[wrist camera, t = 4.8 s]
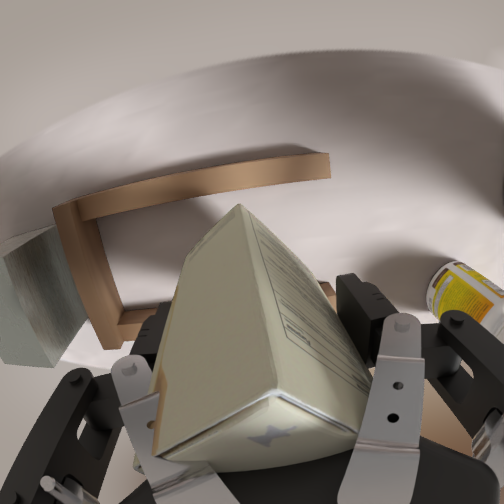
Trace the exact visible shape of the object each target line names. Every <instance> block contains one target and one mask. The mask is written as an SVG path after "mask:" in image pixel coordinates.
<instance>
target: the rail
mask: <svg viewBox="0 0 504 504" xmlns="http://www.w3.org/2000/svg"><path fill="white" fill-rule="evenodd" d="M327 178H331V171H330V161H329V153H320V152H318V153H308V154H298V155H289V156H280V157H272V158H264V159H257V160H250V161H243V162H236V163H230V164H224V165H218V166H212V167H206V168H201V169H195V170H190V171H185V172H180V173H175V174H170V175H165V176H160V177H156V178H151V179H147V180H143V181H138V182H134V183H130V184H126V185H122V186H118V187H114V188H110V189H106V190H103V191H99V192H95V193H92V194H88V195H85V196H81V197H78V198H74V199H72V200H69V201H67V202H65V203H62V204H60V205H58V206H55V207H53V208H52V210H53V214H54V218H55V222H56V226H57V229H58V233H59V236H60V240H61V243H62V246H63V249H64V253H65V256H66V259H67V262H68V265H69V268H70V271H71V273H72V276H73V279H74V282H75V284H76V287H77V290H78V292H79V295H80V297H81V300H82V302H83V305H84V307H85V310H86V312H87V314H88V317H89V319H90V321H91V324H92V326H93V328H94V330H95V332H96V335H97V337H98V339H99V341H100V343H101V345H102V347H103V349H104V350H112V349H121V346H122V344H123V342H124V341H135V340H136V337H137V335H138V333H139V331H140V328H141V326H142V324H143V322H144V321H145V320H146V319H147V318H148V317H149V316H150V315H155V313H156V311H157V309H158V308H151V309H142V310H133V311H125V310H124V307H123V305H122V302H121V299H120V297H119V294H118V291H117V288H116V285H115V282H114V279H113V276H112V273H111V270H110V267H109V264H108V261H107V257H106V254H105V251H104V247H103V244H102V241H101V237H100V233H99V230H98V226H97V222H96V218H98V217H102V216H107V215H111V214H115V213H120V212H124V211H129V210H133V209H138V208H143V207H147V206H152V205H157V204H162V203H167V202H172V201H178V200H183V199H188V198H194V197H199V196H205V195H211V194H217V193H223V192H229V191H235V190H242V189H248V188H255V187H262V186H269V185H277V184H284V183H292V182H300V181H309V180H317V179H327ZM319 285H320V287H321V288H322V290H323V292H324V293H325V295H326V297H327V298H328V300H329V302H330V303H331V305H332V307H333V308H334V310H335V312H336V313H337V310H336V293H335V291H334V290H333V288H332V287H331V285H330V284H329V282H328V283H322V284H319Z"/></svg>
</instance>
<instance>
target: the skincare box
mask: <svg viewBox="0 0 504 504" xmlns="http://www.w3.org/2000/svg"><path fill="white" fill-rule="evenodd" d="M372 381H373V377H372V375H371V373H370V371H369V369H368V368H367V366H366V365H365V363H364V361H363V360H362V358H361V356H360V354H359V352H358V351H357V349H356V347H355V345H354V343H353V342H352V340H351V338H350V336H349V334H348V333H347V331H346V329H345V327H344V326H343V324H342V322H341V320H340V319H339V317H338V315H337V314H336V312H335V310H334V308H333V307H332V305H331V303H330V302H329V300H328V298H327V297H326V295H325V293H324V292H323V290H322V288H321V287H320V285H319V283H318V282H317V280H316V278H315V277H314V275H313V273H312V272H311V271H310V270H309V269H308V268H307V267H306V266H305V265H304V264H303V263H302V261H301V260H300V259H299V258H298V257H297V256H296V255H295V254H294V253H293V252H292V251H291V250H290V249H289V248H288V247H287V246H286V245H285V244H284V243H283V242H282V241H281V240H279V239H278V238H277V237H276V236H275V235H274V234H273V233H272V232H271V231H270V230H269V229H268V228H267V227H266V226H265V225H264V224H263V223H262V222H260V221H259V220H258V219H257V218H256V217H255V216H254V215H253V214H252V213H250V212H249V211H248V210H247V209H246V208H245V207H244V206H243V205H241V204H237V205H236V206H235V207H234V208H232V209H231V210H230V211H229V212H228V213H227V214H226V215H225V216H224V217H223V218H222V219H221V220H220V221H219V222H218V223H217V224H216V225H215V226H214V227H213V228H212V229H211V230H210V231H209V232H208V233H207V234H206V235H205V236H204V237H203V238H202V239H201V240H200V241H199V242H198V243H197V244H196V245H195V247H194V248H193V249H192V250H191V251H190V252H189V253H188V255H187V256H186V259H185V262H184V265H183V268H182V271H181V274H180V277H179V281H178V284H177V287H176V290H175V294H174V297H173V300H172V304H171V307H170V311H169V314H168V317H167V321H166V324H165V328H164V331H163V335H162V339H161V342H160V345H159V350H158V353H157V357H156V361H155V365H154V369H153V373H152V377H151V382H150V386H149V390H148V394H151V393H153V392H155V391H159V392H160V395H159V401H158V408H157V414H156V421H154V422H153V423H152V424H151V426H150V428H149V429H154V428H155V429H154V437H153V445H152V454H151V455H152V456H153V457H155V456H158V455H160V456H162V458H164V459H167V460H173V461H202V460H206V461H207V462H208V463H209V465H210V466H211V467H212V468H213V470H214V471H215V472H216V473H221V472H238V471H249V470H258V469H266V468H274V467H280V466H287V465H292V464H297V463H302V462H307V461H312V460H316V459H320V458H323V457H327V456H331V455H334V454H338V453H341V452H344V451H347V450H350V449H353V448H354V447H355V444H356V441H357V438H358V435H359V432H360V428H361V425H362V421H363V417H364V414H365V410H366V406H367V402H368V398H369V394H370V390H371V385H372ZM133 468H134V469H135V470H136V471H138V472H139V473H142V474H144V475H145V473H144V471H143V469H142V467H141V464H140V462H139V460H138V458H137V455H136V453H135V458H134V462H133Z"/></svg>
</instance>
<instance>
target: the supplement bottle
mask: <svg viewBox="0 0 504 504" xmlns="http://www.w3.org/2000/svg"><path fill="white" fill-rule="evenodd" d="M426 301H427V306H428V308H429V310H430V312H431V313H432V314H433V315H434V316H435V317H436V318H437V319H438V320H439V321H440V316H441V315H442V313H444V312H446V311H448V310H460V311H463V312H465V313H467V314H468V315H470V316H471V317H472V318H473V319H475V320H476V321H477V322H478V323H479V324H481V325H482V326H483V327H484V328H485V329H487V330H488V331H489V332H490V333H491V334H492V335H494V336H495V337H496V338H497V339H498V340H499V341H501V342H502V343H503V344H504V290H502V289H501V288H499V287H498V286H497V285H495V284H494V283H492V282H491V281H490V280H488V279H487V278H485V277H484V276H482V275H481V274H479V273H478V272H476V271H475V270H473V269H472V268H470V267H469V266H467V265H466V264H464V263H462V262H459V261H454V262H450V263H448V264H446V265H444V266H443V267H442V268H441V269H439V270H438V272H437V273H436V274H435V275H434V277H433V278H432V280H431V282H430V284H429V287H428V290H427V295H426Z"/></svg>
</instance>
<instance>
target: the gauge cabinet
mask: <svg viewBox="0 0 504 504" xmlns="http://www.w3.org/2000/svg"><path fill="white" fill-rule="evenodd" d="M87 318H88V314H87V312H86V310H85V307H84V305H83V302H82V300H81V297H80V295H79V292H78V290H77V287H76V284H75V282H74V279H73V276H72V273H71V271H70V268H69V265H68V262H67V259H66V256H65V253H64V249H63V246H62V243H61V240H60V236H59V233H58V229H57V226H56V224H55V225H52V226H48V227H45V228H41V229H38V230H34V231H31V232H28V233H24V234H21V235H18V236H15V237H12V238H10V239H8V240H6V241H5V242H3V243H1V244H0V357H1V359H2V360H3V362H4V363H5V364H12V365H22V366H32V367H46V368H54V367H55V366H56V364H57V362H58V361H59V359H60V358H61V356H62V355H63V353H64V352H65V350H66V349H67V347H68V346H69V344H70V343H71V341H72V340H73V338H74V337H75V335H76V334H77V333H78V331H79V330H80V328H81V327H82V325H83V324H84V323H85V321H86V320H87Z"/></svg>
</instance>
